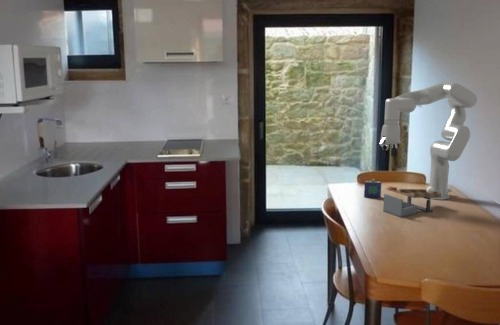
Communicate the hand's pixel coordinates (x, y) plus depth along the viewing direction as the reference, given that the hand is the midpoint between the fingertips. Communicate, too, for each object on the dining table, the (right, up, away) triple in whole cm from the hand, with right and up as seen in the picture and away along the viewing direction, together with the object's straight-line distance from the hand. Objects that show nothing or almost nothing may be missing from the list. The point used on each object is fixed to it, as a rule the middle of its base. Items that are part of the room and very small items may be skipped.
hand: (389, 156), depth 276 cm
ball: (+21, -18, -3) cm, 27 cm away
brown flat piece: (+12, -20, -3) cm, 24 cm away
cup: (+2, -28, -12) cm, 31 cm away
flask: (-5, -23, +16) cm, 28 cm away
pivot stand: (+13, -27, -5) cm, 31 cm away
